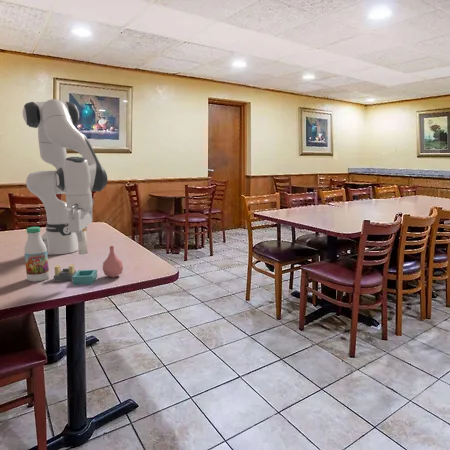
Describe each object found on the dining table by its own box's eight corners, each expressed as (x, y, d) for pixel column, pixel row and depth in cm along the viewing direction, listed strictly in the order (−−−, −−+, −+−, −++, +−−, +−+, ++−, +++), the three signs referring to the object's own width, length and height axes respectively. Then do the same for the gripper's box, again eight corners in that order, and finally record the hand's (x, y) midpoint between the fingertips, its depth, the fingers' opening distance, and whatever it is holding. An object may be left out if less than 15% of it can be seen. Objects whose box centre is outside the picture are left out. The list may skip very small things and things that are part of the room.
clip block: (54, 281, 146) (52, 268, 145) (59, 275, 152) (58, 263, 151) (71, 280, 147) (70, 267, 146) (76, 275, 153) (75, 262, 152)
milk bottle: (24, 278, 149) (18, 227, 145) (45, 274, 154) (40, 224, 151) (31, 283, 144) (25, 230, 140) (52, 278, 149) (47, 227, 145)
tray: (73, 284, 142) (72, 276, 141) (78, 277, 150) (78, 270, 149) (92, 283, 143) (92, 276, 142) (97, 277, 151) (96, 269, 150)
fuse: (77, 253, 144) (75, 228, 142) (84, 251, 146) (82, 227, 144) (81, 254, 142) (79, 229, 140) (89, 253, 144) (87, 228, 143)
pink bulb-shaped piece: (124, 272, 156) (123, 243, 153) (122, 279, 148) (120, 248, 146) (104, 273, 154) (102, 244, 152) (101, 280, 147) (99, 249, 145)
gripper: (81, 205, 131) (84, 246, 133) (94, 199, 151) (96, 234, 153) (61, 206, 130) (65, 246, 133) (77, 199, 150) (80, 234, 153)
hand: (82, 239), depth 143 cm, fingers closed on fuse, 3 cm apart
